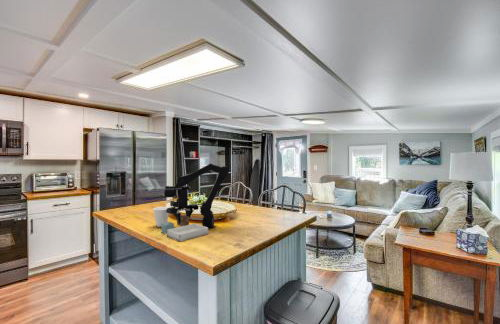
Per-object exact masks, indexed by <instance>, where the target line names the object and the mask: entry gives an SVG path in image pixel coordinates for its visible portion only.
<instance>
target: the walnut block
mask: <svg viewBox="0 0 500 324" xmlns="http://www.w3.org/2000/svg"><path fill="white" fill-rule="evenodd" d="M176 225H177V226H178V227H181V226H186V225H190V218H189V216H186V214H185V215H184V214H183V215H181V218H180V224H178V222H177V221H176Z"/></svg>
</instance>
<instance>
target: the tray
mask: <svg viewBox="0 0 500 324" xmlns="http://www.w3.org/2000/svg"><path fill="white" fill-rule="evenodd" d="M205 235H209V229H208V227H205V226H202V224H199V223H191V224H190V223H189V225H186V226H177V227H174V228H172V229H168V230H167V234H166V237H167V238H171V239H173V240H175V241H177V242H183V241H186V240H187V241H188V240H190V239H194V238H198V237H201V236H202V237H203V236H205Z"/></svg>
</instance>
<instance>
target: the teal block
mask: <svg viewBox="0 0 500 324" xmlns="http://www.w3.org/2000/svg"><path fill="white" fill-rule="evenodd" d="M172 228H175V223H173V222H171V221H167V223H162V227H161V233H163V234H165V235H167V230H168V229H172Z"/></svg>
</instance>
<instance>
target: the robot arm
mask: <svg viewBox="0 0 500 324" xmlns="http://www.w3.org/2000/svg"><path fill="white" fill-rule="evenodd" d="M210 171H213V172H216V173H217V177H216V179H215V182H214V184H213V186H212V188H211V190H210V192H209V194H208V197H207V199H206V200H205V201H204V200H202V203H201V205H200V206H199V205H198V204H195V203H190V204H189V203H188V202H189V200H190V198H189V197H188V196H189V194H188V192H189V191H190V190H191V187H190V186H189V185H188V184H189V183H190V182H192V181H193V180H195V179H196V178H198V177H200V176H202V175H204V174H206V173H207V172H210ZM229 173H230V170H229V167H227V166H225V165H224V166H219V165H216V164H213V163H208V164H207V165H205V166H202V167H201V168H199V169H196V170H195V171H193V172H191V173H188V174H185V175H181V176H180V177H178V178H177V183H176V184H175V185H173V186H171V185H166V186H164V198H168V199H169V198H176V196H177V198H176V201H175V200H171V201H170V202H169V204H170V208H167V210H166V213H169V214H170V215H174V216H175V219H176V223H177V222H178V224H180V218H181V216H182V215H181V214H182V212H181V211H185V215H186V216H189V219H190V218H191V216H192V215H193V212H195V210H196V211H197V210H199V209H200V210H199V213H200V215H201V216H203V217H202V220H201V221H202V222H201V225H202V226H205V227H208V230H209V229H213V228H216V227H217V226H216V225H215V216H214V212H213V211H212V207H213V206H212V205H213V202H214V200H215V198H216V196H217V193H218V191H219V190H220V188H221V185H222V183H223V181H224V180H225V179H226V178H227V176H228V175H229ZM186 185H187V186H186ZM180 187H181V188H180Z"/></svg>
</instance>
